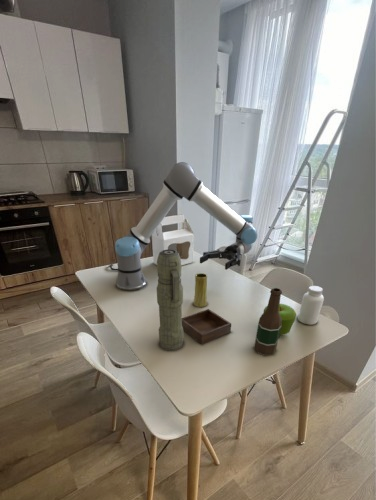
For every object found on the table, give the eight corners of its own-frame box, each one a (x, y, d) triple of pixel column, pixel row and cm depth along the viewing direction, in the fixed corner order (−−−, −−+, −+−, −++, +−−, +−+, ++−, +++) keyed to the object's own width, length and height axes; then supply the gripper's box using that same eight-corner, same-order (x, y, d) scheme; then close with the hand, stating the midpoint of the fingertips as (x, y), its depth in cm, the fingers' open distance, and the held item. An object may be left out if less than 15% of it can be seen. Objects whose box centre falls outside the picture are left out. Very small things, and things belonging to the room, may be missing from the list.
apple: (279, 343, 109) (285, 318, 103) (253, 330, 116) (257, 305, 110) (297, 332, 116) (304, 307, 109) (272, 320, 123) (276, 296, 117)
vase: (191, 302, 136) (192, 273, 128) (203, 300, 138) (204, 272, 130) (197, 308, 132) (197, 278, 124) (208, 305, 134) (210, 276, 126)
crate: (180, 327, 118) (180, 318, 115) (207, 317, 125) (208, 308, 123) (201, 344, 108) (202, 335, 106) (230, 332, 115) (231, 323, 113)
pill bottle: (294, 320, 123) (302, 288, 115) (302, 313, 128) (310, 282, 120) (312, 327, 119) (322, 294, 110) (320, 320, 124) (329, 288, 115)
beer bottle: (276, 357, 102) (290, 296, 89) (254, 354, 103) (264, 293, 90) (275, 344, 108) (288, 285, 95) (254, 342, 110) (264, 283, 96)
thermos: (168, 355, 102) (165, 259, 83) (153, 339, 110) (147, 249, 91) (189, 348, 106) (191, 254, 86) (173, 333, 114) (171, 244, 95)
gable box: (181, 256, 191) (181, 211, 175) (193, 262, 182) (194, 215, 166) (152, 263, 180) (150, 216, 164) (164, 269, 171) (162, 220, 155)
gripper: (255, 263, 143) (236, 277, 129) (212, 254, 155) (190, 265, 140) (257, 248, 139) (238, 260, 124) (213, 240, 151) (190, 250, 136)
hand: (212, 263), depth 132 cm, fingers open, 13 cm apart
